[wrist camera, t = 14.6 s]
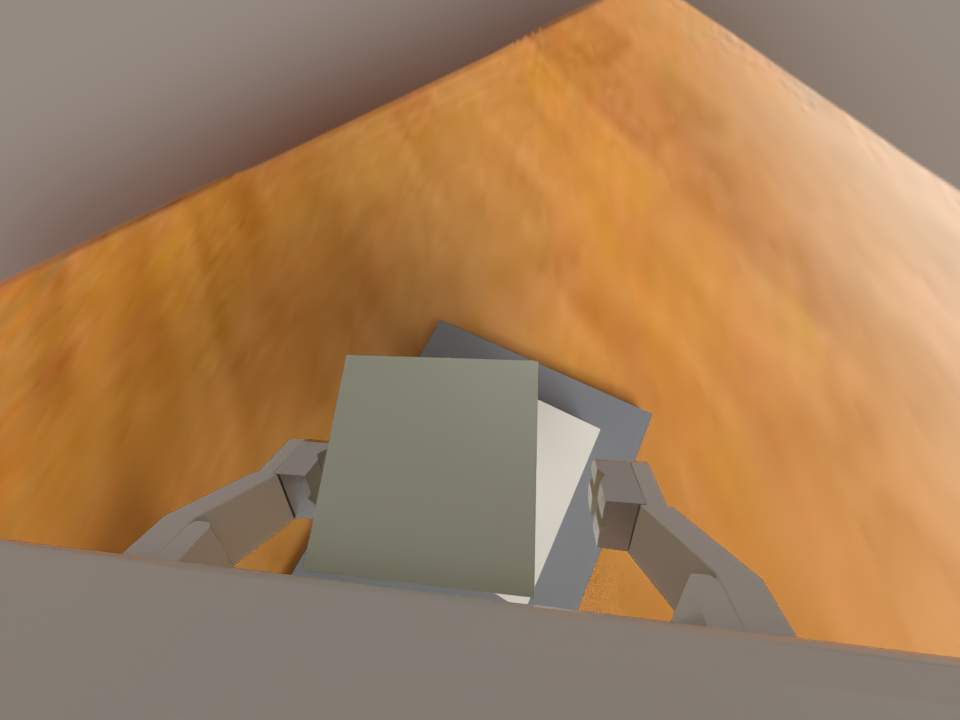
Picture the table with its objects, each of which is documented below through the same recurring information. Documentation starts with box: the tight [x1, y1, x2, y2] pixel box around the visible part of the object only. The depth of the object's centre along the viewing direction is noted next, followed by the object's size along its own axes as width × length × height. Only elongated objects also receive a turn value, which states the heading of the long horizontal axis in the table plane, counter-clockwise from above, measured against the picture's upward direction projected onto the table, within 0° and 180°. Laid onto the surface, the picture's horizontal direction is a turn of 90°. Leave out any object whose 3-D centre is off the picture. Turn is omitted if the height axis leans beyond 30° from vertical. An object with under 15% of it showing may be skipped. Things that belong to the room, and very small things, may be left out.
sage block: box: [303, 355, 538, 598], centre depth 14 cm, size 5×5×12 cm
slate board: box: [291, 320, 652, 610], centre depth 21 cm, size 22×16×4 cm
